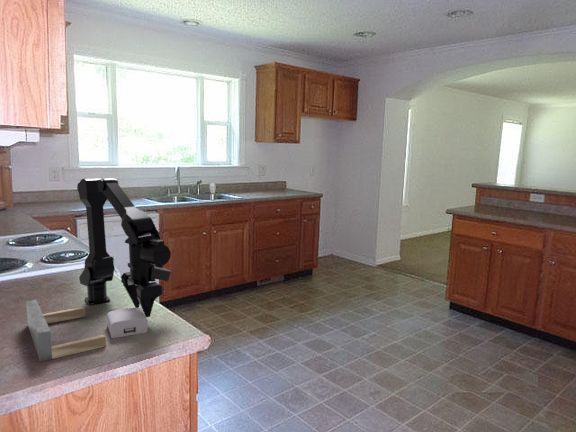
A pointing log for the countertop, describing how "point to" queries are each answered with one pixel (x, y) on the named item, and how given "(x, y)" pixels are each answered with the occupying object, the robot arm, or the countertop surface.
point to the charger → (126, 322)
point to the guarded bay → (43, 336)
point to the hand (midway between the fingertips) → (142, 312)
